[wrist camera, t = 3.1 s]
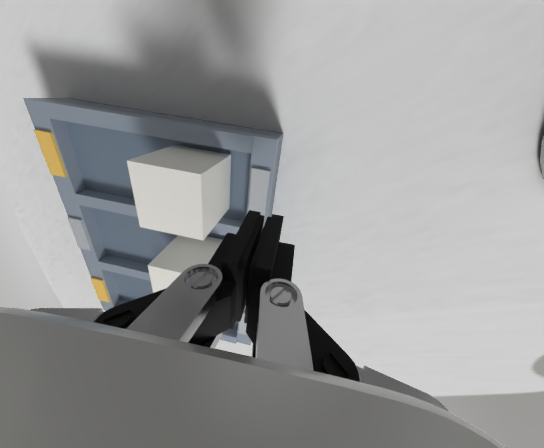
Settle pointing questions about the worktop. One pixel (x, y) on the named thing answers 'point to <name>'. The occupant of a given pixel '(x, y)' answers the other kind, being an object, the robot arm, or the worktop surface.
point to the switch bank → (118, 190)
